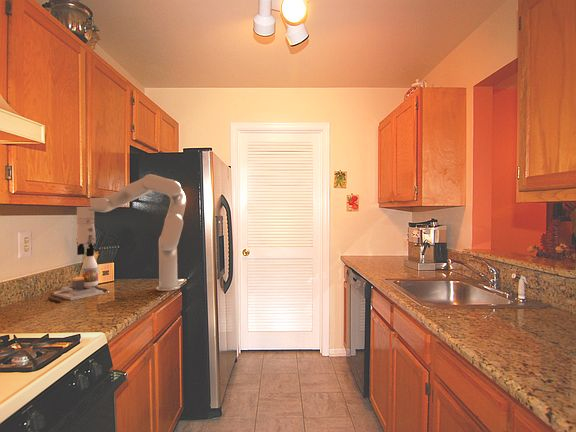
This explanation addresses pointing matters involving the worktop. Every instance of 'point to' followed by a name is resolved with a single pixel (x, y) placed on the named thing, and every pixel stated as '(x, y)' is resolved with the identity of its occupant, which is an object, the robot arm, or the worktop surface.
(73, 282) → the block
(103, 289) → the cord
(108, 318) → the worktop surface
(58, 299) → the cord
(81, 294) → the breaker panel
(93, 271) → the milk bottle
